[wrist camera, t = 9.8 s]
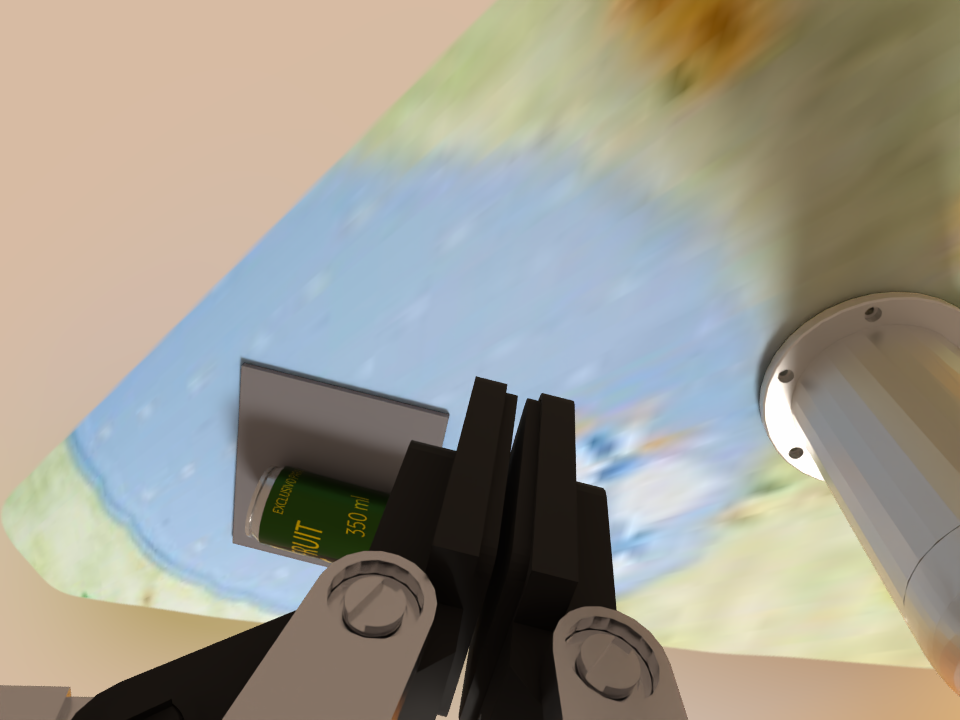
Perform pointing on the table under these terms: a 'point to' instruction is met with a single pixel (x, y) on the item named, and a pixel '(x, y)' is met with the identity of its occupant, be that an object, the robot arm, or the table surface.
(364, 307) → the table surface
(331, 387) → the mat
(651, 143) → the table surface
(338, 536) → the green soda can
